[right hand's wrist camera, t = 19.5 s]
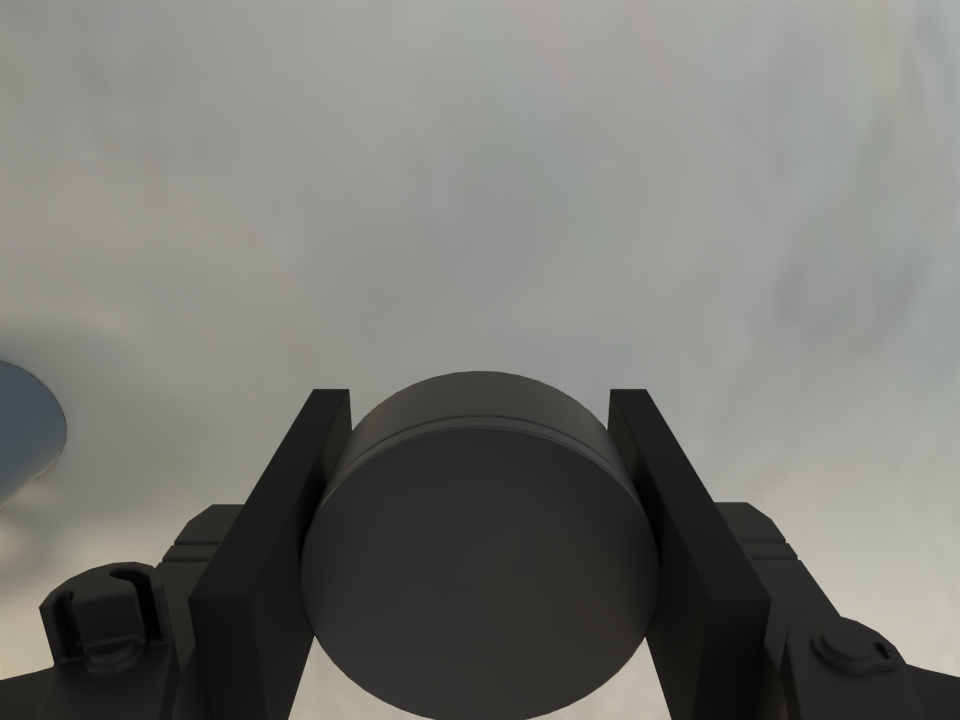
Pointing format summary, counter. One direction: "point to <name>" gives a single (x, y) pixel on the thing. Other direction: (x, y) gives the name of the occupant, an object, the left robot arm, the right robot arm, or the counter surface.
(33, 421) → the grey cylinder
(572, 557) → the lid
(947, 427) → the counter surface
